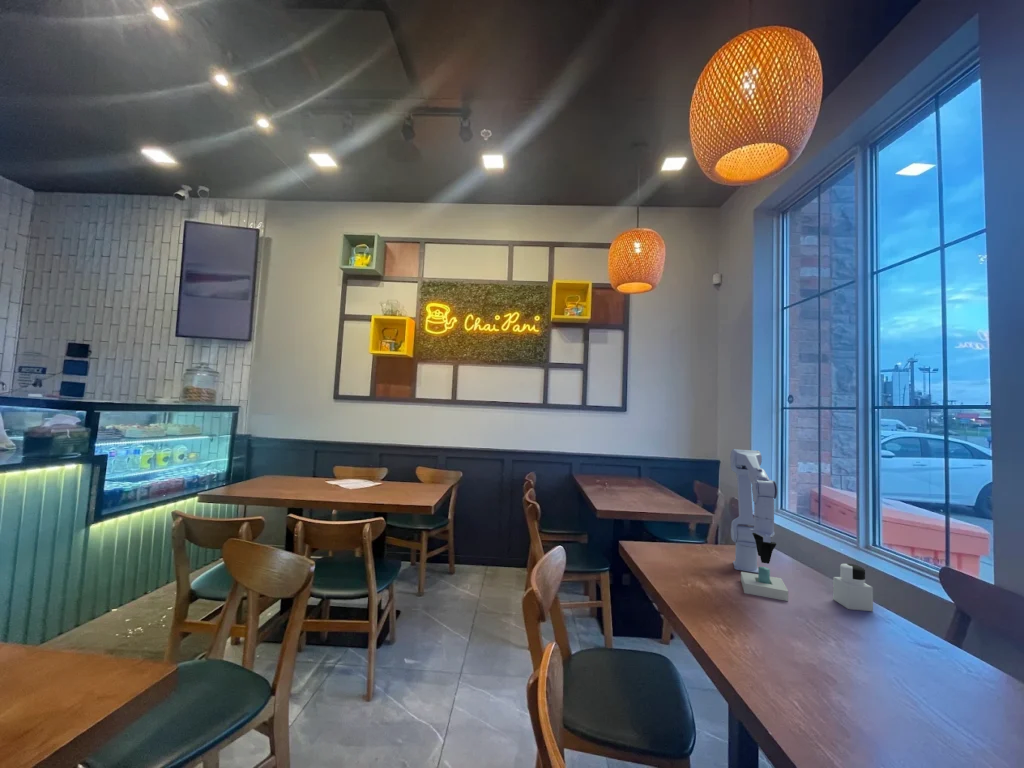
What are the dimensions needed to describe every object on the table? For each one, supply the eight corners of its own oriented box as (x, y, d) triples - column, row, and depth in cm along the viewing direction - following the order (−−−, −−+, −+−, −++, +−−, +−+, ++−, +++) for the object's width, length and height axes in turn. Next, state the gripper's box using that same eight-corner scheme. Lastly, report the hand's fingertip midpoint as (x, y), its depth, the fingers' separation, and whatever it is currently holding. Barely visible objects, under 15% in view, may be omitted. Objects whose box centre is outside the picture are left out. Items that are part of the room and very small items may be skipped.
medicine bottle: (856, 601, 135) (856, 562, 136) (873, 611, 128) (873, 570, 129) (832, 599, 136) (832, 560, 137) (847, 609, 129) (847, 568, 130)
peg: (758, 587, 143) (758, 565, 143) (769, 590, 141) (769, 568, 142) (758, 590, 140) (758, 568, 141) (769, 593, 139) (769, 570, 139)
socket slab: (740, 580, 149) (740, 571, 149) (781, 587, 144) (781, 578, 144) (744, 593, 138) (744, 583, 138) (788, 601, 133) (788, 591, 133)
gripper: (747, 511, 151) (747, 551, 150) (752, 520, 137) (752, 563, 136) (771, 514, 148) (770, 554, 147) (778, 523, 135) (778, 567, 134)
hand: (763, 559), depth 141 cm, fingers open, 7 cm apart
